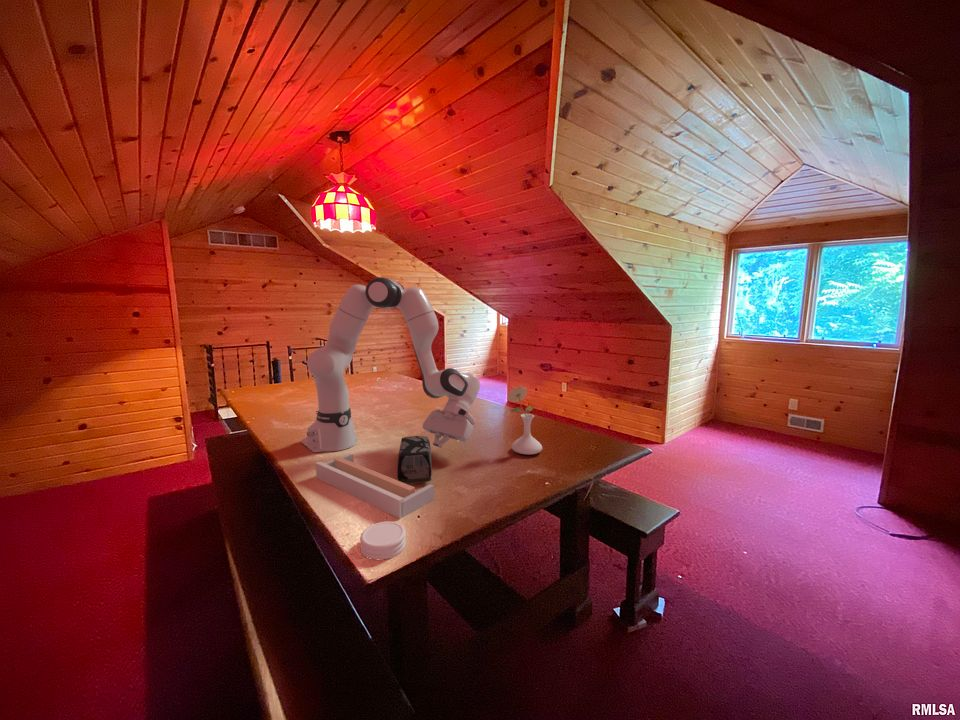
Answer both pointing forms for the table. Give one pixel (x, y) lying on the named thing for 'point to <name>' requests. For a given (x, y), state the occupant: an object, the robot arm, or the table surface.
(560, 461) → the table surface
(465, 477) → the table surface
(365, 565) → the table surface
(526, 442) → the flower in vase
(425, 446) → the black mottled block
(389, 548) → the coaster
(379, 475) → the tan wooden bar
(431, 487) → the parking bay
